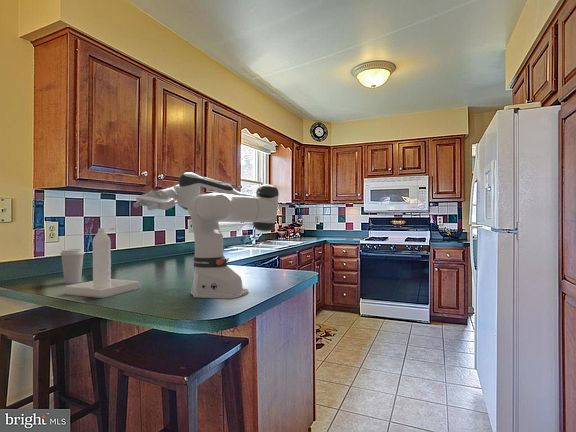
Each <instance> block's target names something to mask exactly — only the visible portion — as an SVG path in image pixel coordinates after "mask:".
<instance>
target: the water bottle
mask: <svg viewBox="0 0 576 432" xmlns="http://www.w3.org/2000/svg"><path fill="white" fill-rule="evenodd" d="M115 230H116V227H108V231H115ZM111 244H112V242H111V238H110V236H109V235H108V234H107V233H106V229H105V227H101V228H100V227H99V228H98V229H97V233H96V234H95V236H93V239H92V281H93V289H106V288H111V279H112V278H111V277H112V269H111V267H112V257H111V255H112V254H111V251H112V250H111V246H112V245H111Z"/></svg>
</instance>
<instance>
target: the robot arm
mask: <svg viewBox="0 0 576 432" xmlns="http://www.w3.org/2000/svg"><path fill="white" fill-rule="evenodd" d="M201 187H203V188H205V189H210V190H213V191H215V192H212V193H209V192H208V193H202V194H201ZM255 194H256V195H255ZM255 194H251V193H248V192H240V191H238V190H236V189H235V188H234V187H233V186H232V184H230V183H226V182H223V181H220V180H217V179H215V178H214V179H213V178H209V177H207V176H202V175H200V174H198V173H196V172H191V171H190V172H189V171H186V172H183V173H182V174H181V175H180V177H178V184H176V185H173V186H171V187H166V188H163V189H152V190H150V191H149V192H146V193H143V194H141V195H138V196H137V197H136V198H135V200H136V202H135V203H134V202H133V207H134V208H139V207H140V206H142V207H146V209H147V210H148V211H153V210H163V211H167V210H170V209H172V208H174V207H175V206H176V205H178V206H179V207H180V208H182V209H183V210H186V211H188V215H189V217H190V220H191V225H192V230H193V231H192V232H193V236H194V256H193V269H194V270H193V271H194V273H193V274H194V275H193V282H192V287H191V289H190V290H191V291H190V294H191V295H192V297H193V298H202V299H204V298H205V299H224V300H225V299H228V300H231V299H236V298H240V297H243V296H245V295H247V294H248V293H249V289H248V288H245V287H244V286H243V281H242V278H241V276H240V275H239V274H238V273H237V272H236V271H235V270H233V269H232V268H231V267H230V266H228V262H229V261H230V258H226V257H225V255H224V236H223V233H222V231H221V229H220V226H219V222H221V223H223V222H224V223H252V225H253V228H254V229H255V230H257V231H259V232H262V233H266V232H271V231H273V230H274V229H275V226H276V220H277V219H276V218H277V216H278V215H277V214H278V209H279V196H280V195H279V189H278V187H276V186H274V185H272V184H268V183H267V184H262V185H259V186H258V187H257V188H256V192H255ZM246 293H247V294H246ZM242 295H243V296H242Z"/></svg>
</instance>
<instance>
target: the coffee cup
mask: <svg viewBox="0 0 576 432" xmlns="http://www.w3.org/2000/svg"><path fill="white" fill-rule="evenodd" d="M85 253H86V252H85V251H84V250H83V249H82V248H72V249H71V248H70V249H62V250H61V252H60V254H59V256H61V263H62V272H63V282H64V284H67V285H68V284H69V285H70V284H71V285H73V284H79V283H82V276H83V275H82V274H83V273H82V272H83V263H84V262H83V260H84V255H85Z"/></svg>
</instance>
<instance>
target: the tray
mask: <svg viewBox="0 0 576 432" xmlns="http://www.w3.org/2000/svg"><path fill="white" fill-rule="evenodd" d="M135 290H140V281H139V280H129V279H128V280H126V279H116V278H111V288H106V289H93V280H90V281H84V282H79V283H73V284H71V285H70V284H69V285H66V286H64V294H65V295H71V296H81V297H88V298H98V299H105V298H108V297H112V296H115V295H120V294H124V293H127V292H132V291H135Z"/></svg>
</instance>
